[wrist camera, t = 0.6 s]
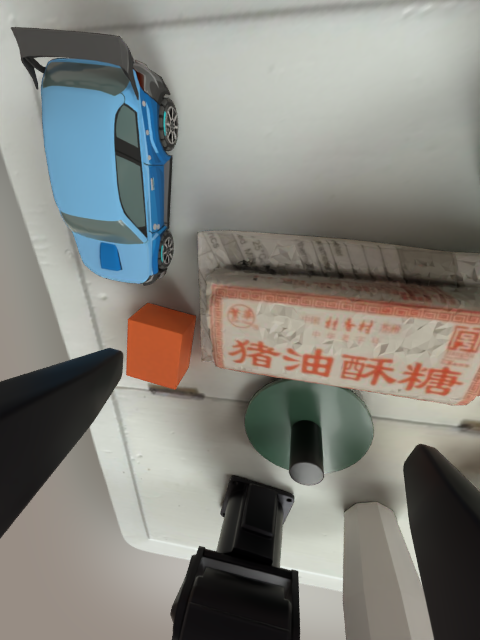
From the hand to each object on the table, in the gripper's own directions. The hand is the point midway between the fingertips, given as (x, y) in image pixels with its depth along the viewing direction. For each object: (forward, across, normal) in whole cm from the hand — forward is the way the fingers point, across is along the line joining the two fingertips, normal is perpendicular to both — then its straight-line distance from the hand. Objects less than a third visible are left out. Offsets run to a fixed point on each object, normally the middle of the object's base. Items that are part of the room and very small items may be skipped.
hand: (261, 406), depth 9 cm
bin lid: (+13, -5, +12) cm, 18 cm away
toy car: (+13, +11, -3) cm, 17 cm away
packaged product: (+13, -4, +1) cm, 14 cm away
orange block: (+13, +8, +7) cm, 17 cm away
